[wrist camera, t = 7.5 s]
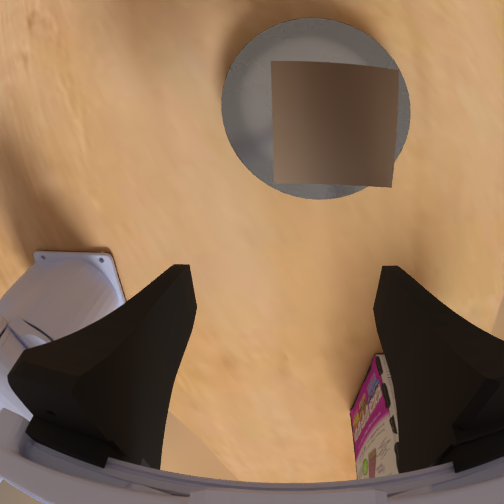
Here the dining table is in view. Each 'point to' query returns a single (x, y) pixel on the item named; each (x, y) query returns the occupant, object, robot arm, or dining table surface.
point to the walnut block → (333, 123)
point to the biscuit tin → (260, 91)
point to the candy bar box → (376, 424)
